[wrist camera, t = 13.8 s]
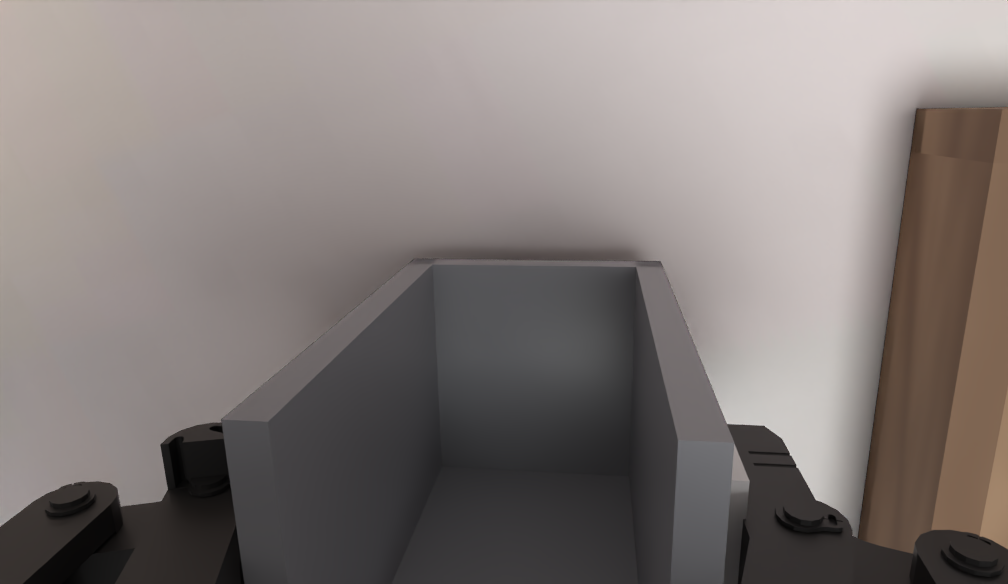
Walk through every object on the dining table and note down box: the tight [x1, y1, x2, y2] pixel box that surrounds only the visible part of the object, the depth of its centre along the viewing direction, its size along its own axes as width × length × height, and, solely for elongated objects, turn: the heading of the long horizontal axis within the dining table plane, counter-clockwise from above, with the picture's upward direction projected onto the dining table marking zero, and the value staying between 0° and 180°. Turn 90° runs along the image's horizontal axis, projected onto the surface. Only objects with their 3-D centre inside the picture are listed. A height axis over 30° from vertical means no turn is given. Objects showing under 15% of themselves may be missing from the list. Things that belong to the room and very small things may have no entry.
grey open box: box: [221, 259, 734, 584], centre depth 13 cm, size 6×6×9 cm
